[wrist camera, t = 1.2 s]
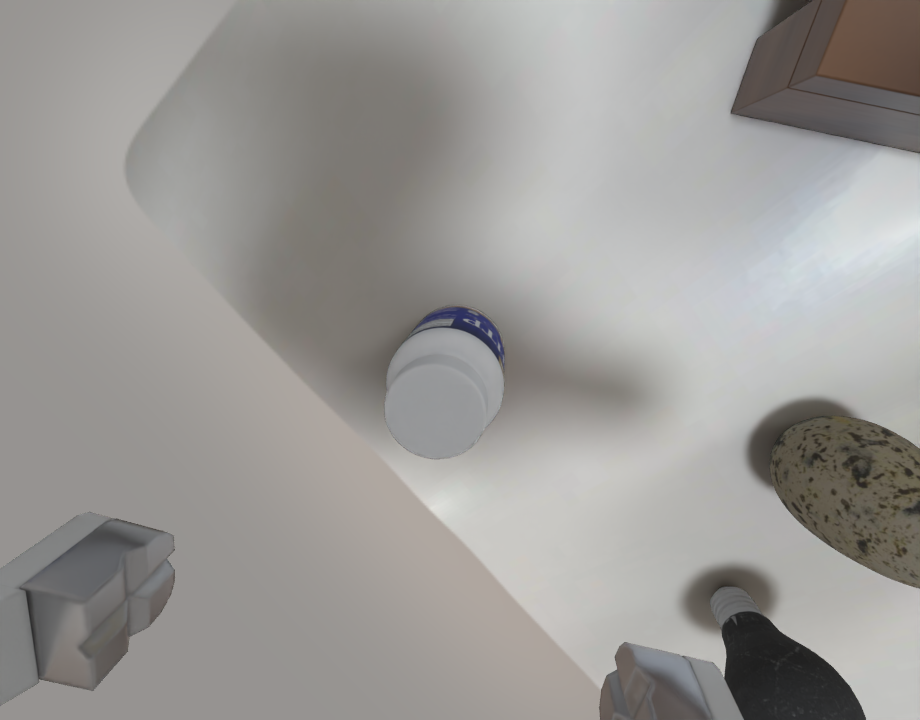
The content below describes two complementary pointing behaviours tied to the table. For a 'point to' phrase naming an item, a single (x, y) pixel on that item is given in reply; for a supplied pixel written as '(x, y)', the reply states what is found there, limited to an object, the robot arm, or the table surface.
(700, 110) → the table surface
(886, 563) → the decorative egg
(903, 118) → the shelf
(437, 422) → the pill bottle
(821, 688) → the light bulb
